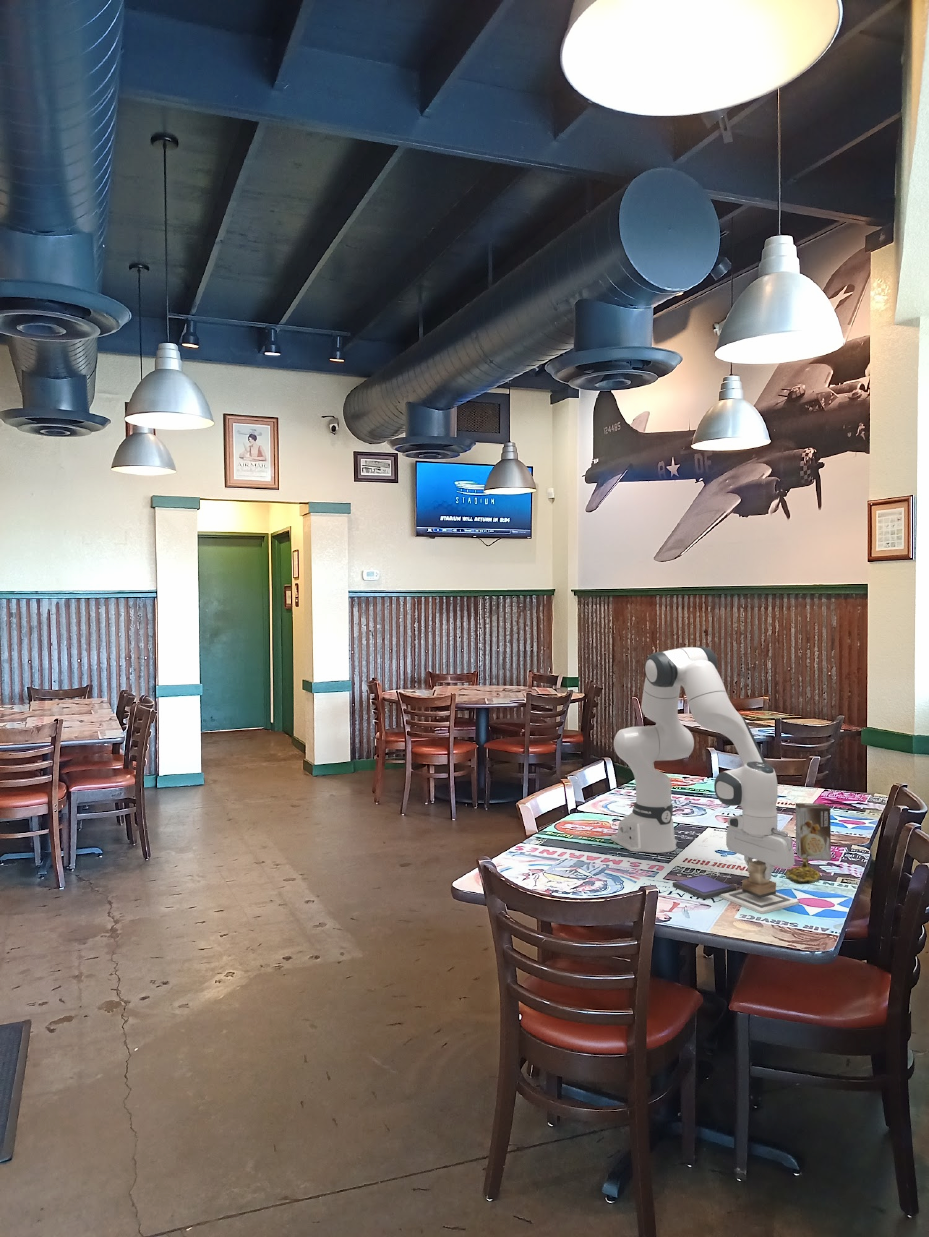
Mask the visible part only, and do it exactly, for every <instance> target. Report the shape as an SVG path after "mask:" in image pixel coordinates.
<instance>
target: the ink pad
mask: <svg viewBox="0 0 929 1237" xmlns="http://www.w3.org/2000/svg"><path fill="white" fill-rule="evenodd" d="M673 886H674V887H673ZM672 887H673V888H675V887H677V888H678V889H677V888H676V889H677V890H680V889H681V890H680V891H683V892H685V893H687V892H688V894H689V895H692V896H694V895H695V896H694V897H697V898H699V897H700V899H702V900H704V899H705V900H708V899H712V898H717V897H721V894H725V893H729V892H733V891H737V887H736V886H735V885H734V886H733V885H731V884H729V883H726V882H723V881H720V880H718V879H715V878H714V877H713V878H712V877H710V876H707V875H705V874H702V875H698V876H694V877H689V878H685V879H680V880H677V881H673V882H672Z"/></svg>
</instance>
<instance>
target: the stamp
mask: <svg viewBox="0 0 929 1237" xmlns="http://www.w3.org/2000/svg"><path fill="white" fill-rule="evenodd" d="M766 869H767V867H766V863H765V862H762V861H759V860H756V859H755V860H752V862H749V873H748V878H745V879H742V880H741V882H742V884H741V885H742V886H741V888H742V891H743V892H746V893H748V894H751V895H753V896H756V897H759V898H762V897H766V896H770V895H774V894H776V893H777V882H775V881H773V880H771V879H769V880H767V879H764V878H763V872H764V871H766Z"/></svg>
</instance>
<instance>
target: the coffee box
mask: <svg viewBox="0 0 929 1237" xmlns="http://www.w3.org/2000/svg"><path fill="white" fill-rule="evenodd" d="M831 822H832V821H831V808H830V806H828V805H826V804H825V803H813V802H812V803H807V802H805V803H803V802H795V854H796V853H797V854H796V855H797V857H798V856H799V857H800V858H801V859H800V858H799V857H798V858H799V859H800V860H803V858H805V857H806V858H808V860H812V859H813V860H816V861H817V860H818V861H819V860H820V861H823V860H824V861H832V855H831V854H832V845H831V844H832V843H831V841H832V839H831V838H832V837H831V836H832V835H831V834H832V833H831V832H832V831H831V830H832V828H831Z"/></svg>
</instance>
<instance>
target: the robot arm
mask: <svg viewBox="0 0 929 1237" xmlns="http://www.w3.org/2000/svg"><path fill="white" fill-rule="evenodd" d="M718 665H719V663H718V659H717V656H716V654H715V652H714V651H713V650H712V649H711V648H709V647H705V646H696V647H695V646H694V647H693V646H691V647H690V646H689V647H678V648H673V649H669V650H665V651H657V652H654V653H651V654H649V655H648V656H647V658H646V660H645V664H644V674H645V679H644V683H643V691H642V692H643V693H642V696H641V698H642V699H641V705H640V707H641V713H643V715H644V716H645V717H646V718H647V719H648V720H650V721H652V722H654V723H655V725H652V726H651V725H648V726H646V725H645V726H641V725H640V726H629V727H626V728H622V729H619V730H618V731H617V733H615V735H614V738H613V739H614V740H613V749H614V751H615V753H616V755H617V756H618V757H619V758H620V759H621V760H622V761H623V762H625V763H626V764H627V765H628V767H629V768H630V770H631V771H632V774H633V777H634V782H635V800H636V801H634V802H630V807H632V810H631V811H632V812H630V813H629V814H628V815H627V816H625V817H624V818H622V819H621V820H620V821H619V823H618V825H617V833H614V834H612V835H611V836H610V841H612V842H614V843H616V844H618V845H620V846H621V847H623V848H625V849H627V850H628V851H631V852H637V853H638V852H640V853H641V852H643V853H644V852H645V853H651V854H653V853H654V854H655V853H657V854H658V853H659V854H661V853H670V852H673V851H676V850H677V843H678V842H677V839H676V836H675V826H674V819H673V815H674V812H673V811H674V808H673V807H674V805H673V803H672V780H671V779H670V777H669V776H668V775H667V774H665V773H664V772H662V771H661V770H658V769H655V765H654V762H656V761H676V760H681V759H684V758H688V757H689V756H690V755H691V754H692V752H693V750H694V748H695V739H694V736H693V734H692V732H691V731H690V730H689V729H688V728H687V727H685V726H684V725H683V723H682V722H681V720H680V719H679V714H678V710H679V709H678V708H679V701H680V693H681V692H680V691H681V687H682V688H683V689H684V690H683V691H684V693H685V697H686V702H687V704H688V708H689V711H690V714H691V716H692V717H693V720H694V721H695V722H696V723H697V724H698V725H699V726H701V727H703V728H705V729H707V730H710V731H711V732H716V733H719V734H721V735H723V736H724V737H727V739H729V740H730V741H731V742H732V743H733V745H734V748H735V749H736V751H737V754H738V756H739V759H740V760H741V762H742V766H740V767H739V768H734V769H728V770H725V771H721V772H719V773H718V774H717V775H716V777H715V780H714V783H713V786H714V787H713V788H714V793H715V795H716V798H717V799H718V801H719V802H721V804H723V805H725V806H731V807H733V806H734V807H735V806H737V807H741V809H742V814H739V815H735V816H731V817H728V818H727V821H726V824H727V825H728V827H727V829H726V833H725V834H726V836H725V837H726V839H725V842H726V847H727V850H728V851H730V852H733V853H735V854H738V855H742V856H743V857H744V858H743V859H744V862H745V865H746V866H747V873H748V874H749V862H752V861H753V860H755V861H756V860H759V861H762V862H765V863H766V867H767V869H766V871H764V872H763V878H764V879H767V880H771V879H772V873H773V871H774V870H775V868H776V867H777V868H780V869H783V870H787V869H791V868H794V865H795V852H794V845H793V842H794V841H793V838H792V837H791V836H790V834H789V833H788V832H787V831H782V830H780V829H778V810H777V802H778V798H779V797H778V796H779V795H778V794H779V792H778V789H779V788H778V786H779V785H778V783H779V782H778V779H777V774H776V771H775V768H774V767H773V766H771V765H770V764H768V763H767V761H766V760H765V758H764V755H763V753H762V751H761V749H760V747H759V744H758V743H757V741H756V739H755V736H754V734H753V732H752V730H751V728H750V727H749V724H748V723H747V721H746V719H745V718H744V716H743V715H742V714H741V713H739V712H738V711H737V710H736V708H735V706H734V705H733V704H732V702H731V700H730V698H729V696H728V693H727V691H726V688H725V685H724V681H723V680H722V678H721V676H720V673H719V672H718V667H719V666H718Z"/></svg>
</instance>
